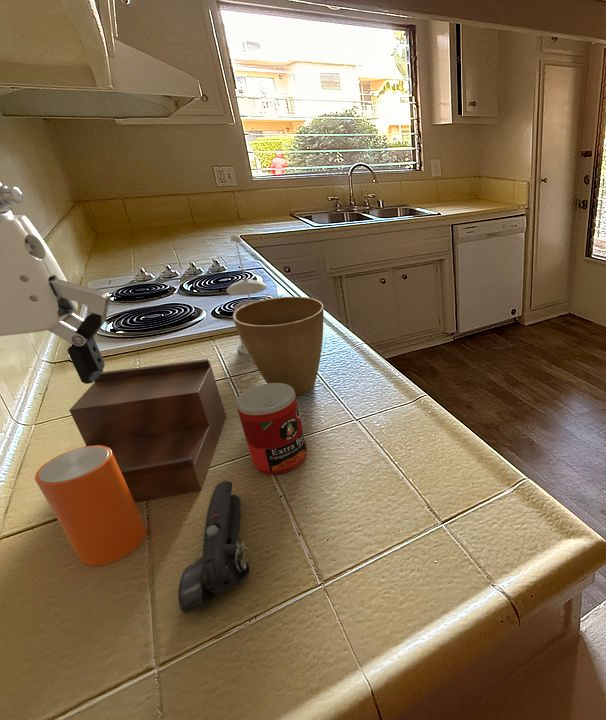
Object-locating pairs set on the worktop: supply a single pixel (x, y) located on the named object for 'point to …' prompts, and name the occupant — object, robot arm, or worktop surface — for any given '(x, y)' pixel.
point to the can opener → (216, 553)
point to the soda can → (92, 504)
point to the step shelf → (155, 425)
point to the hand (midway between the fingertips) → (37, 385)
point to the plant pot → (283, 339)
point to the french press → (245, 291)
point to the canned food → (272, 427)
